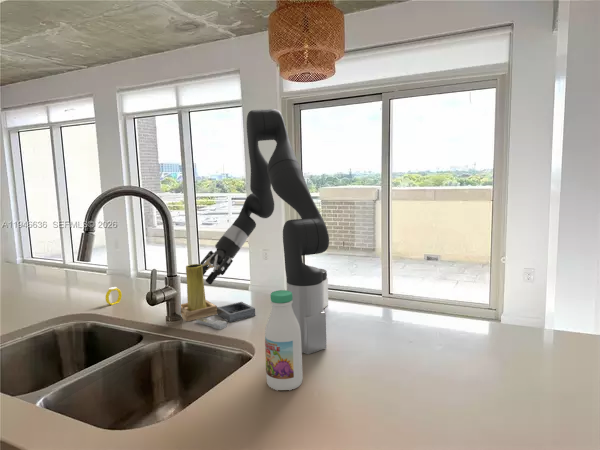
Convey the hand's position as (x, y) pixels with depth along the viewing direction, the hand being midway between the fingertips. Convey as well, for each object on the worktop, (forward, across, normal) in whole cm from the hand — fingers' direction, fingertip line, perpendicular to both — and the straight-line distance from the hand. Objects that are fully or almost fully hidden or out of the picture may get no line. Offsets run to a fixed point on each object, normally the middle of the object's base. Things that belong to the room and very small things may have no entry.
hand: (202, 280), depth 135 cm
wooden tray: (+9, 0, +6) cm, 11 cm away
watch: (+23, -30, -7) cm, 39 cm away
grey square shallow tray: (+3, +11, +12) cm, 16 cm away
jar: (-14, +20, +30) cm, 39 cm away
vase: (+8, 0, +5) cm, 10 cm away
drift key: (+10, +13, +5) cm, 17 cm away
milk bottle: (+12, +56, +3) cm, 57 cm away
